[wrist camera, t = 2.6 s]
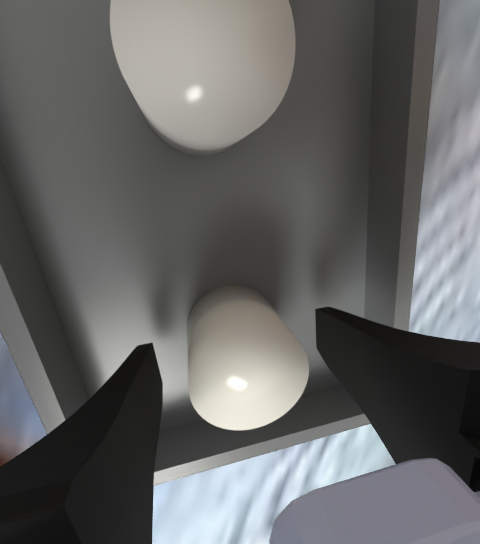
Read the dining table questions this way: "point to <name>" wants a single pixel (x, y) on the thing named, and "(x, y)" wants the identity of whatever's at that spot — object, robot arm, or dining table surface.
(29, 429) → the dining table surface
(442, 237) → the dining table surface
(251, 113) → the stone
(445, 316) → the dining table surface
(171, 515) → the dining table surface
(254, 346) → the stone
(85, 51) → the tray
